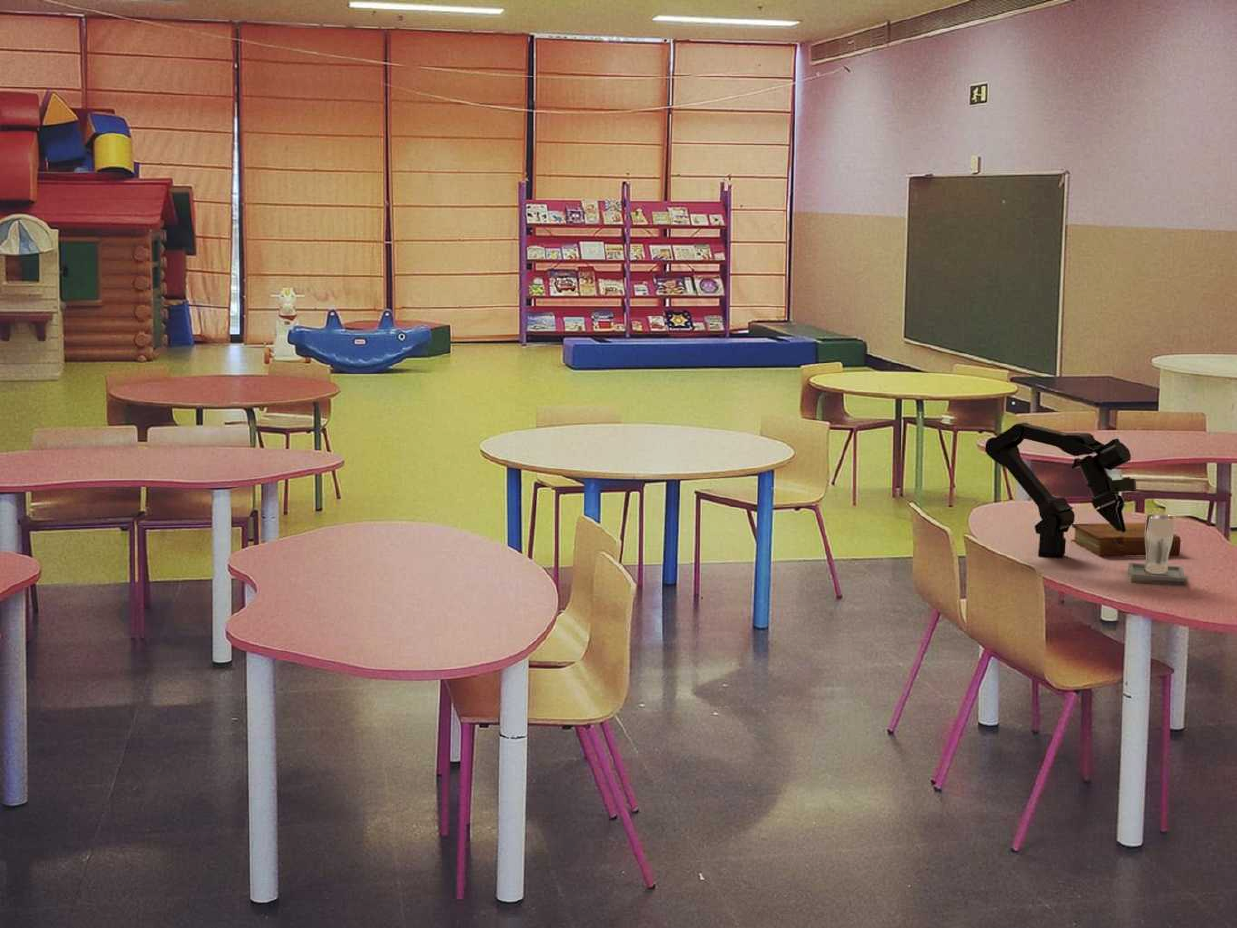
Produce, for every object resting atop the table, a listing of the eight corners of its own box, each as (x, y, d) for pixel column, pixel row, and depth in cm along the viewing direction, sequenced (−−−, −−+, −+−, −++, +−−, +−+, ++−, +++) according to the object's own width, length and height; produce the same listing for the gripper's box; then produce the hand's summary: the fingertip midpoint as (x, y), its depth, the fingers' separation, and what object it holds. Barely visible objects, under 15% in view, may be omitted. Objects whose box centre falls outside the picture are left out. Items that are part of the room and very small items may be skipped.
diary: (1099, 559, 380) (1100, 538, 379) (1070, 543, 399) (1072, 523, 398) (1179, 556, 383) (1181, 536, 382) (1147, 541, 401) (1148, 522, 400)
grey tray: (1131, 582, 353) (1131, 574, 353) (1128, 570, 366) (1128, 562, 365) (1186, 586, 350) (1186, 578, 349) (1180, 573, 362) (1181, 566, 362)
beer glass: (1175, 575, 355) (1180, 518, 352) (1152, 577, 353) (1156, 519, 351) (1159, 569, 362) (1163, 513, 359) (1135, 570, 360) (1140, 514, 357)
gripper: (1121, 461, 357) (1148, 517, 353) (1130, 467, 374) (1155, 520, 370) (1080, 479, 362) (1106, 534, 358) (1090, 484, 378) (1115, 537, 374)
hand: (1122, 531), depth 365 cm, fingers open, 9 cm apart
